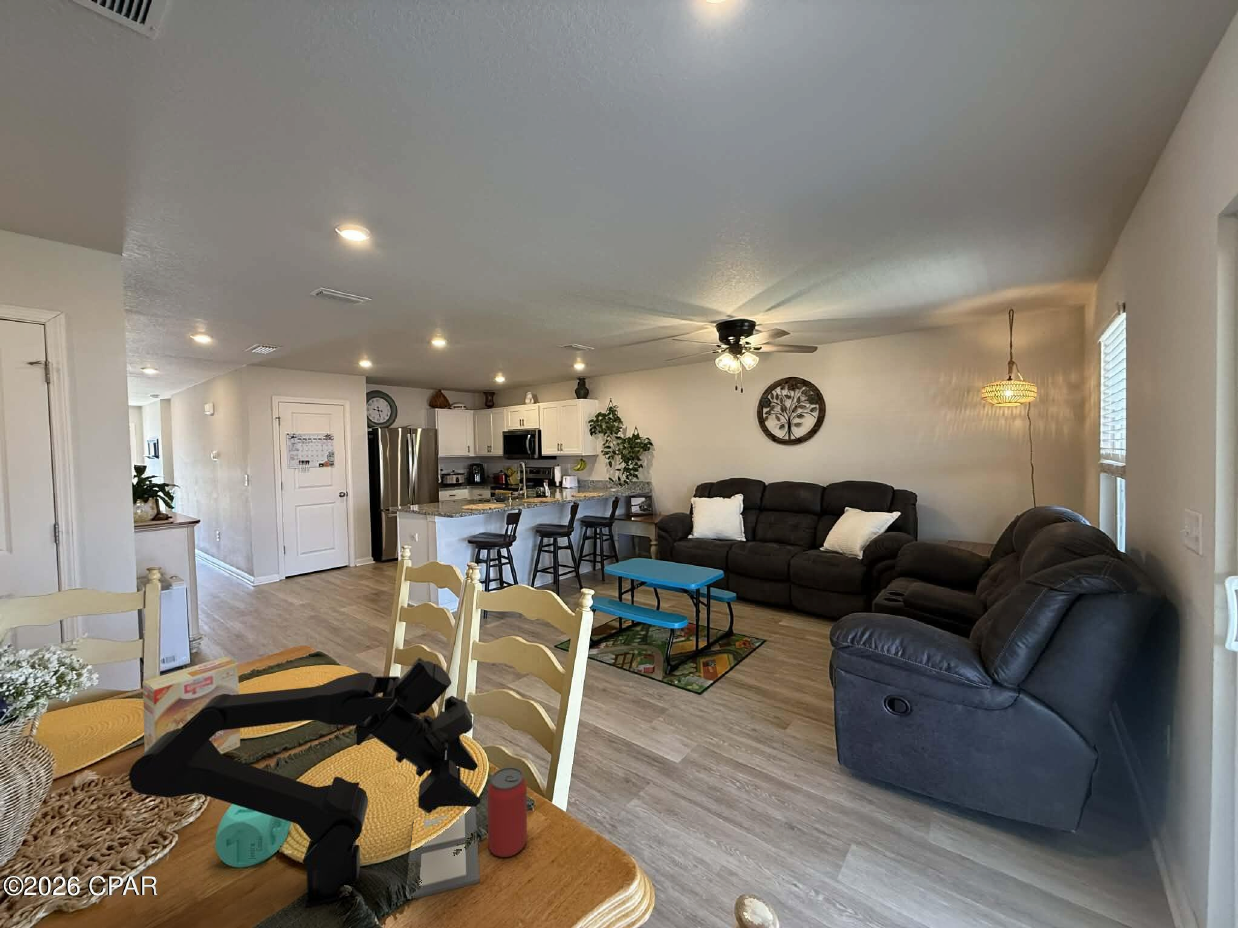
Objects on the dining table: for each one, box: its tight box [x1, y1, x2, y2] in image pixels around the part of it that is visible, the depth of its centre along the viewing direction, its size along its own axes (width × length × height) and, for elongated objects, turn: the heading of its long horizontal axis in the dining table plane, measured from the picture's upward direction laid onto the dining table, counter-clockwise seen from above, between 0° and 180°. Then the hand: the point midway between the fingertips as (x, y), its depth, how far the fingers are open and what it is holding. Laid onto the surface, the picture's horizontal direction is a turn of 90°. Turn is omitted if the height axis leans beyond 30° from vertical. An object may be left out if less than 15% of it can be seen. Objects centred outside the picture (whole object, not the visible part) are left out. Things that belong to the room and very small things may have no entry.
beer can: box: [487, 766, 528, 858], centre depth 88 cm, size 7×7×12 cm
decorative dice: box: [214, 804, 292, 868], centre depth 87 cm, size 8×8×8 cm
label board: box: [407, 807, 480, 899], centre depth 87 cm, size 11×17×1 cm, turn 18°
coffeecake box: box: [142, 656, 241, 755], centre depth 111 cm, size 15×7×20 cm, turn 148°
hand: (477, 784), depth 86 cm, fingers open, 9 cm apart
